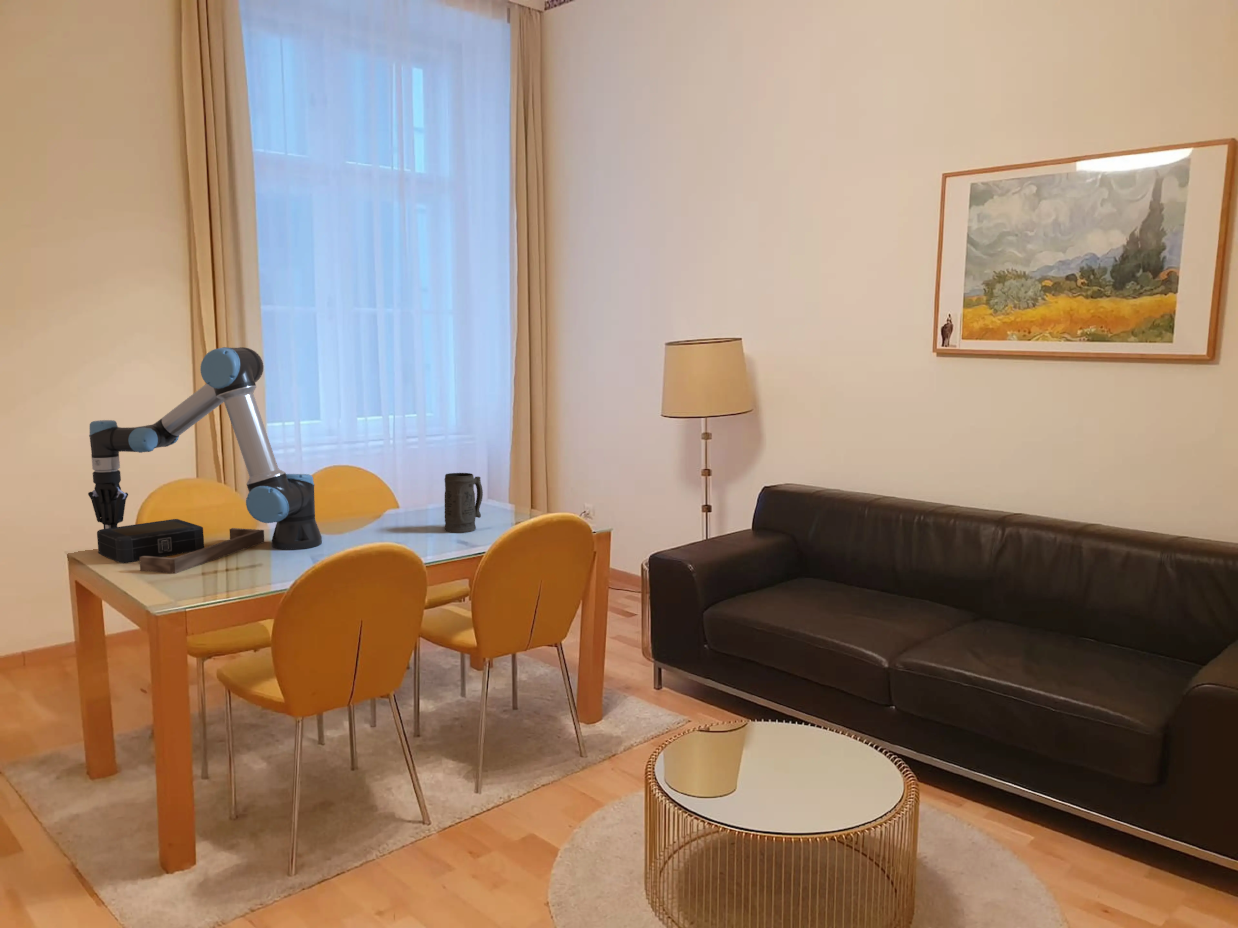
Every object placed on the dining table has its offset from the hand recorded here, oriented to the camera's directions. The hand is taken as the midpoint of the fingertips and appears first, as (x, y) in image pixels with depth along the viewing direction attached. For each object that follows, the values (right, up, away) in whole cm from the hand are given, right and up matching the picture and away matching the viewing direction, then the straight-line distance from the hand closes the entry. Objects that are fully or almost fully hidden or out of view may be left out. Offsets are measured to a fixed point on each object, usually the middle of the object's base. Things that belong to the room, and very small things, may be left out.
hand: (111, 544), depth 287 cm
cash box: (+14, -2, -3) cm, 15 cm away
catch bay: (+33, -3, -8) cm, 34 cm away
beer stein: (+105, +2, +33) cm, 110 cm away
